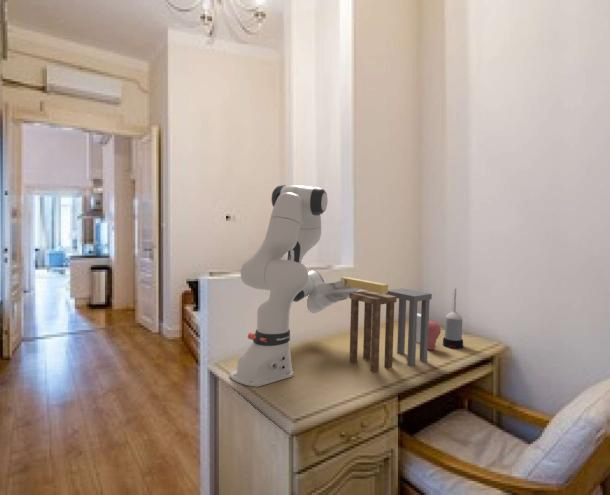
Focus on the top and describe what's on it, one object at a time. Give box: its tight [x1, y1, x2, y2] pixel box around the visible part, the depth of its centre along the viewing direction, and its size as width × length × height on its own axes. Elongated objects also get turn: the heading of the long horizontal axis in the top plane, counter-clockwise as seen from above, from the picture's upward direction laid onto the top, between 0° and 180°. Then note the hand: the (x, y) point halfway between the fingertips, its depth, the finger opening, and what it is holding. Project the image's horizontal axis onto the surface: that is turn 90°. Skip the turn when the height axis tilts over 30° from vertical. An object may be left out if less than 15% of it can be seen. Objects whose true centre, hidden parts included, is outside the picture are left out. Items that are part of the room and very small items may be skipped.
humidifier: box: [442, 288, 464, 350], centre depth 167 cm, size 8×8×25 cm
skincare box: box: [416, 312, 421, 344], centre depth 173 cm, size 6×4×12 cm
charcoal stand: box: [384, 288, 433, 367], centre depth 149 cm, size 14×10×26 cm
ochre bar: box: [340, 276, 389, 294], centre depth 145 cm, size 22×3×3 cm, turn 35°
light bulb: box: [428, 320, 442, 351], centre depth 161 cm, size 7×7×12 cm
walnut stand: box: [348, 290, 398, 374], centre depth 142 cm, size 14×10×26 cm
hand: (349, 280), depth 152 cm, fingers closed on ochre bar, 3 cm apart
